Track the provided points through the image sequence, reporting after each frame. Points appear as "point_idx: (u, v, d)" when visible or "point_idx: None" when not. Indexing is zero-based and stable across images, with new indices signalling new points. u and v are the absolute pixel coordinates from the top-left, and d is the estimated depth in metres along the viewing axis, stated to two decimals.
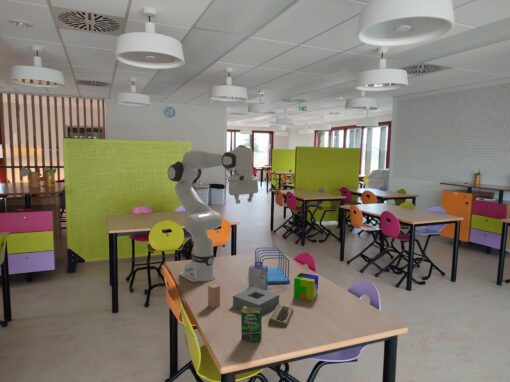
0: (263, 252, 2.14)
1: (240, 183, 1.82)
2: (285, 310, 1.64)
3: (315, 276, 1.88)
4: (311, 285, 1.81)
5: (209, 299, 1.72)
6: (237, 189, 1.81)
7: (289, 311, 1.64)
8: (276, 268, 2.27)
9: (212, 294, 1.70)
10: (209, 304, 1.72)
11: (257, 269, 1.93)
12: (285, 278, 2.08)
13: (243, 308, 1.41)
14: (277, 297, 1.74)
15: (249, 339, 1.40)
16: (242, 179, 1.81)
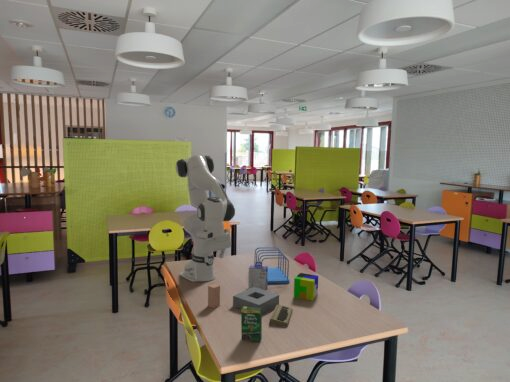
0: (263, 252, 2.14)
1: (209, 240, 1.64)
2: (285, 310, 1.64)
3: (315, 276, 1.88)
4: (311, 285, 1.81)
5: (209, 299, 1.72)
6: (205, 247, 1.63)
7: (289, 311, 1.64)
8: (276, 268, 2.27)
9: (212, 294, 1.70)
10: (209, 304, 1.72)
11: (257, 269, 1.93)
12: (285, 278, 2.08)
13: (243, 308, 1.41)
14: (277, 297, 1.74)
15: (249, 339, 1.40)
16: (211, 236, 1.63)
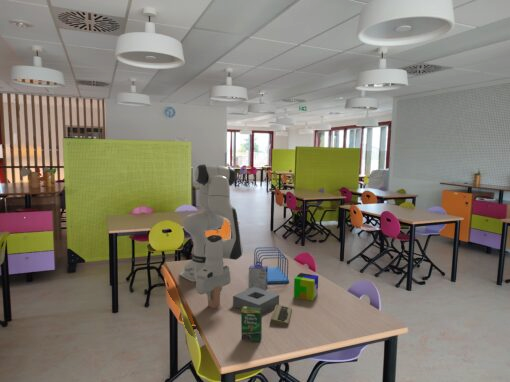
0: (262, 252, 2.14)
1: (209, 280, 1.66)
2: (284, 310, 1.64)
3: (315, 276, 1.88)
4: (311, 285, 1.81)
5: None
6: (205, 287, 1.65)
7: (289, 311, 1.64)
8: (275, 268, 2.27)
9: (212, 294, 1.70)
10: (209, 304, 1.72)
11: (257, 269, 1.93)
12: (284, 278, 2.09)
13: (243, 308, 1.41)
14: (277, 297, 1.74)
15: (249, 339, 1.40)
16: (211, 276, 1.65)
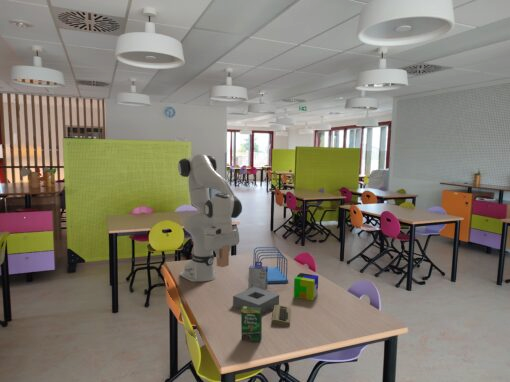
0: (261, 252, 2.14)
1: (217, 237, 1.62)
2: (284, 310, 1.64)
3: (315, 276, 1.88)
4: (311, 285, 1.81)
5: None
6: (214, 244, 1.61)
7: (288, 311, 1.64)
8: (275, 268, 2.27)
9: (221, 253, 1.66)
10: (218, 263, 1.68)
11: (257, 269, 1.93)
12: (283, 278, 2.09)
13: (243, 308, 1.41)
14: (277, 297, 1.74)
15: (249, 339, 1.40)
16: (219, 233, 1.61)
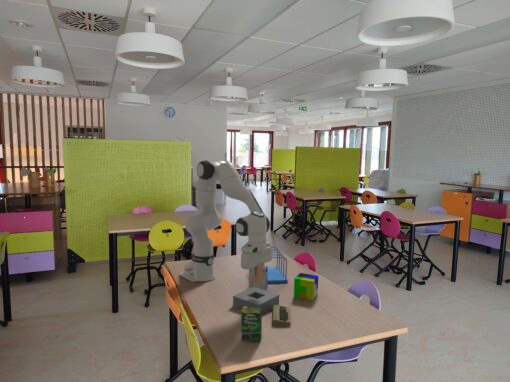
0: None
1: (253, 255, 1.66)
2: (284, 310, 1.64)
3: (315, 276, 1.88)
4: (311, 285, 1.81)
5: None
6: (250, 262, 1.65)
7: (288, 311, 1.64)
8: (274, 268, 2.28)
9: (256, 270, 1.70)
10: (252, 280, 1.72)
11: None
12: (283, 277, 2.09)
13: (243, 308, 1.41)
14: (277, 297, 1.74)
15: (249, 339, 1.40)
16: (255, 251, 1.66)
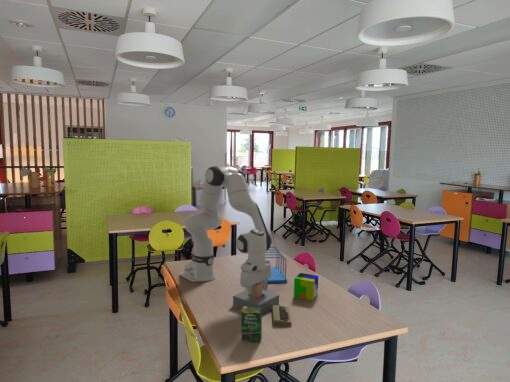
0: None
1: (253, 273, 1.67)
2: (283, 310, 1.64)
3: (315, 276, 1.88)
4: (311, 285, 1.81)
5: (252, 296, 1.73)
6: (249, 280, 1.66)
7: (287, 310, 1.65)
8: (274, 267, 2.28)
9: (255, 291, 1.72)
10: None
11: None
12: (282, 277, 2.09)
13: (243, 308, 1.41)
14: (277, 297, 1.74)
15: (249, 339, 1.40)
16: (255, 269, 1.66)
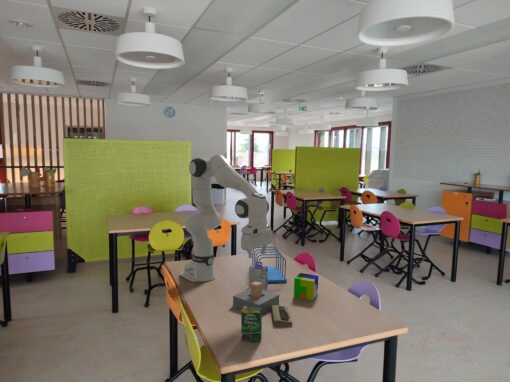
0: None
1: (253, 236, 1.65)
2: (283, 310, 1.64)
3: (315, 276, 1.88)
4: (311, 285, 1.81)
5: (252, 296, 1.73)
6: (250, 243, 1.64)
7: (287, 310, 1.65)
8: (273, 267, 2.28)
9: (255, 291, 1.72)
10: None
11: (257, 269, 1.93)
12: (282, 277, 2.09)
13: (243, 308, 1.41)
14: (277, 297, 1.74)
15: (249, 339, 1.40)
16: (256, 232, 1.65)
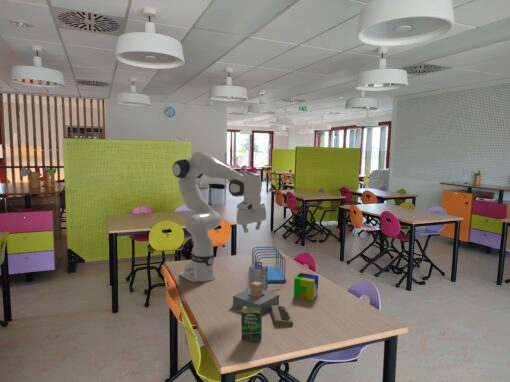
0: None
1: (248, 212, 1.77)
2: (283, 309, 1.64)
3: (315, 276, 1.88)
4: (311, 285, 1.81)
5: (252, 296, 1.73)
6: (245, 218, 1.76)
7: (287, 310, 1.65)
8: (273, 267, 2.28)
9: (255, 291, 1.72)
10: None
11: (257, 269, 1.93)
12: (281, 277, 2.10)
13: (243, 308, 1.41)
14: (277, 297, 1.74)
15: (249, 339, 1.40)
16: (250, 208, 1.76)
